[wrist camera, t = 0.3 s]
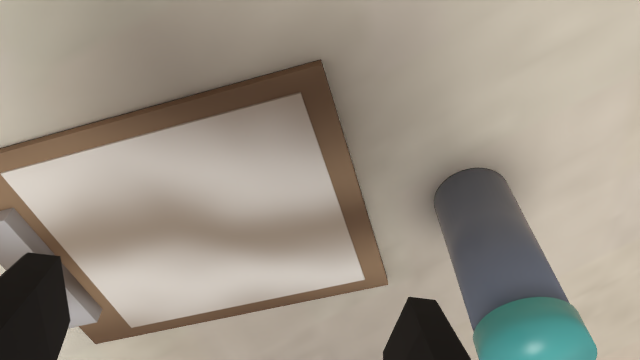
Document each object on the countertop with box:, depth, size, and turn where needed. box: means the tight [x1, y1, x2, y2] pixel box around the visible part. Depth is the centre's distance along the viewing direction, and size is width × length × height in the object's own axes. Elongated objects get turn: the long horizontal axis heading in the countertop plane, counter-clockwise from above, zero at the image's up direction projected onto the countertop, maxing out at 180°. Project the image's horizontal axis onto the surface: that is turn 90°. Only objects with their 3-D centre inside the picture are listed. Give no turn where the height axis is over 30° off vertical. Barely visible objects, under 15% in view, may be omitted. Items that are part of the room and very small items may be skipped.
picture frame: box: [0, 60, 388, 344], centre depth 22 cm, size 12×16×1 cm
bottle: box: [434, 168, 597, 360], centre depth 19 cm, size 3×3×8 cm
